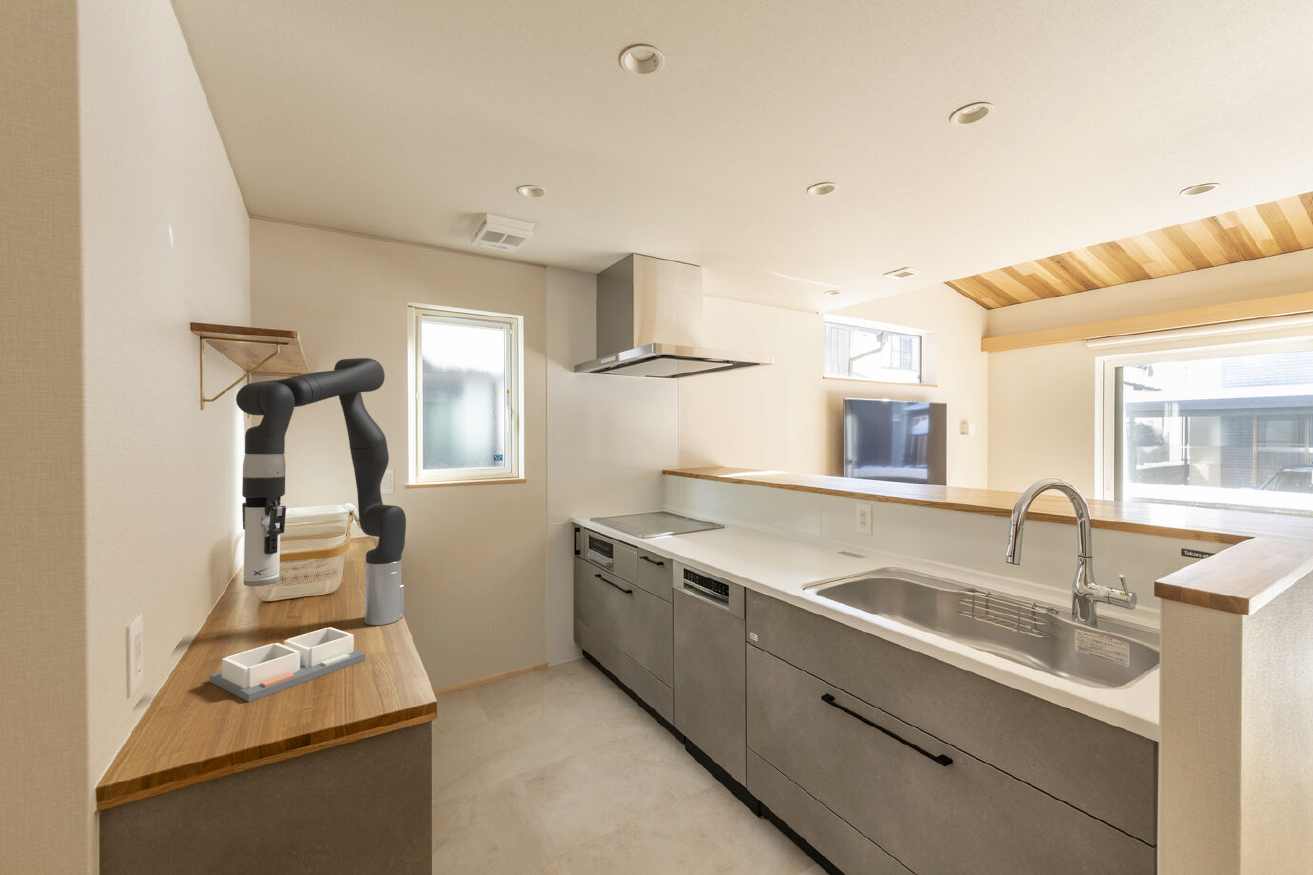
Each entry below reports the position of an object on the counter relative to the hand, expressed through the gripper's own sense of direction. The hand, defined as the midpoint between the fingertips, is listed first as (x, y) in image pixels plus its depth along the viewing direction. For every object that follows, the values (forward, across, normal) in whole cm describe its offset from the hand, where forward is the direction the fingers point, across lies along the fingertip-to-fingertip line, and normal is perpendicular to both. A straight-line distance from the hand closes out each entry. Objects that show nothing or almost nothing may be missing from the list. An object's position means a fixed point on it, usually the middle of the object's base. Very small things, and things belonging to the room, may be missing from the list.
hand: (262, 551), depth 117 cm
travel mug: (+7, 0, 0) cm, 7 cm away
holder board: (+28, 0, -6) cm, 29 cm away
